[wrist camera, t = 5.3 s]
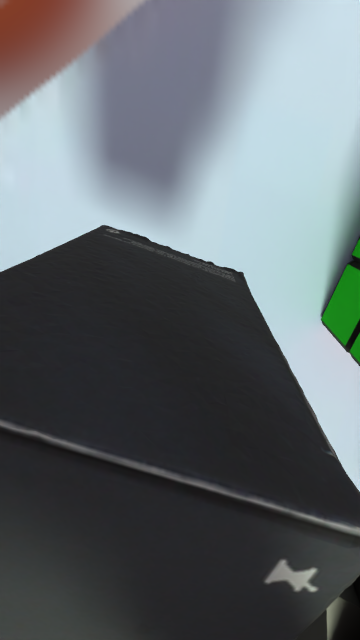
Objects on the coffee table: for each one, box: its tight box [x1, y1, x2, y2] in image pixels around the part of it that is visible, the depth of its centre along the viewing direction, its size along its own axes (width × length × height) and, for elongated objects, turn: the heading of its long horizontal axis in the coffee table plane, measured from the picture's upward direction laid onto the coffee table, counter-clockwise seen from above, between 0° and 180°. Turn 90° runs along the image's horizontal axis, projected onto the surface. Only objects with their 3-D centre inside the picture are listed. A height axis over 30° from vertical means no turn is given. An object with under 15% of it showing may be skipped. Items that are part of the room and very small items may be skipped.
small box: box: [0, 225, 360, 640], centre depth 10 cm, size 11×6×10 cm, turn 160°
